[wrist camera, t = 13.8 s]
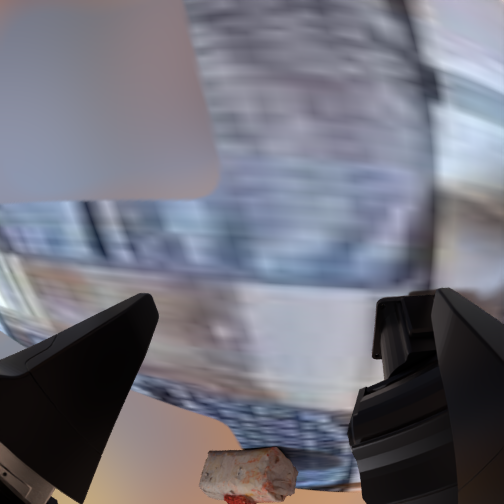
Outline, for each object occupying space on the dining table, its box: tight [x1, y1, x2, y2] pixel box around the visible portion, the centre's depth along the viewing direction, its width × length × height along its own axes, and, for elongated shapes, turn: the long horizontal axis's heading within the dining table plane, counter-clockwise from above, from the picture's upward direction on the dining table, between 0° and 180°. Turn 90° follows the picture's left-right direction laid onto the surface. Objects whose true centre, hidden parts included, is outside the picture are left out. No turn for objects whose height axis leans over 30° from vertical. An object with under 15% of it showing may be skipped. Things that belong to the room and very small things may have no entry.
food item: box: [199, 447, 298, 504], centre depth 35 cm, size 14×8×10 cm, turn 123°
